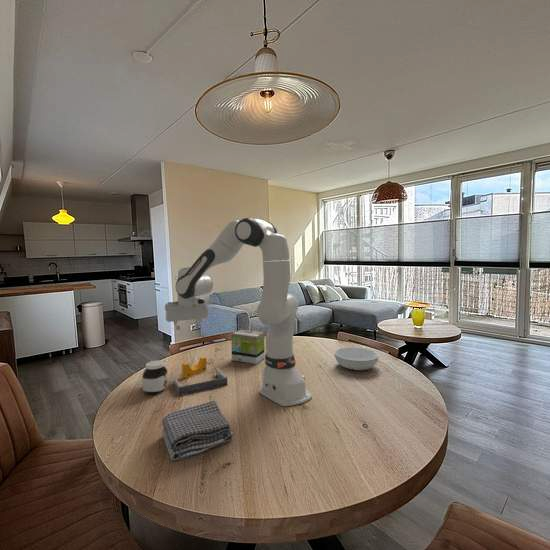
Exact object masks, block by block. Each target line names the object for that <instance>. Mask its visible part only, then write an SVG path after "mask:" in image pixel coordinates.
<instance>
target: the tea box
mask: <svg viewBox="0 0 550 550" xmlns="http://www.w3.org/2000/svg"><path fill="white" fill-rule="evenodd" d="M230 339H231V342H230V343H231V361H235V362H240V363H241V362H242V363H247V364H252V365H258V364H259V363H260V362H262V361H263V360H265V332H264V331H255V330H247V329H239V330H237V331H235V332H233V333H231V338H230ZM262 359H263V360H262ZM257 363H258V364H257Z"/></svg>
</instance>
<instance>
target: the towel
mask: <svg viewBox="0 0 550 550" xmlns="http://www.w3.org/2000/svg"><path fill="white" fill-rule="evenodd" d="M217 403H218V402H216V400H210V401H208V402H204V403H201V404H197V405H193V406H189V407H185V408H183V409H179V410H175V411H172V412H171V411H170V412H169V413H167V414H166V415H165V416H164V417H163V418H162V436H163V440H164V443H165V446H166V449H167V452H168V454H169V457H170V460H171V462H175V461H176V462H177V461H181V460H184V459H186V458H190V457H192V456H194V455H198V454H201V453H203V452H205V451H207V450H209V449H212V448H214V447H216V446H219V445H222V444H225V443H229V442H231V441H232V440H233V436H234V433H233V432H232V430H231V425H230V423H229V422H228V420H227V419H226V417H225V416H224V414H223V412H222V411H221V409H220V407H219V405H218V404H217Z"/></svg>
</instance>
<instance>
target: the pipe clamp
mask: <svg viewBox="0 0 550 550" xmlns="http://www.w3.org/2000/svg"><path fill="white" fill-rule="evenodd" d="M198 359H199V360H198V363H195V364H193V366H190V363H188V362H184V363H182V364H181V365H182V366H181V367H182V369H181V371H182V373H181V374H182V378H183V377H184V378H183V379H186V378H187V379H188V377H189V378H191V377H193V375H194V376H196V375H199V374H202V373H203V371H204V372H206V371H207V370H208V369H207V357H206V356H200V357H199V358H198ZM205 370H206V371H205ZM198 373H199V374H198ZM195 374H196V375H195ZM190 376H191V377H190Z"/></svg>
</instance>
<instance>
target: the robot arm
mask: <svg viewBox="0 0 550 550" xmlns="http://www.w3.org/2000/svg"><path fill="white" fill-rule="evenodd" d="M244 245H247V246H252V247H254V248H257V247H259V249H260V250H261V253H262V271H263V272H262V273H263V274H262V275H263V286H262V291H261V297H260V300H259V304H258V306H257V308H256V315H257V318H258V320H259V322H260V323H262V324H264V325H266V326H268V330H267V332H266V335H265V354H264V361H265V362H264V364H265V367H264V369H263V371H262V376H261V387H260V388H259V389H258V393H259V394H261V395H262V396H263V397H265V398H267V399H269V400H271V401H273V402H274V403H276V404H277V405H279V406H281V407H289V406H296V405H300V404H303V403H306V402H308V401H310V400H311V399H313V395H312V393H311V392H310V391H309V390H308V389H307V387H306V382H305V380H306V377H305V375H303V374H301V373H300V370H299V369H298V367H297V366H296V363H297V360H296V358H295V354H294V339H293V338H294V330H295V325H296V324H295V323H296V317H297V311H298V309H299V301H298V299H297V297H296V296H294V295H293V294H291V293H288V292H289V286H290V283H291V280H292V278H291V275H292V274H291V273H292V272H291V259H290V257H291V256H290V250H289V245H288V241H287V238H286V236H285V235H283V234H281V233H278V229H277V227H276V226H275V225H274V224H273V223H272V222H270V221H266V220H263V219H261V218H253V217H245V218H242V219H232V220H230V221H229V223H227V225H226V226H225V227H224V228H223V229H222V230H221V232H220V233H219V234H218V235H217V237H216V238H215V240H214V241H213V242H212V244H210V246H209V247H208V248H206V249H205V250H204V252H203V253H201V255H199V257H198V258H197V259H196V260H195V262H194V263H192V265H191V267H183V268H180V269H179V270H178V271H177V278H176V282H175V291H176V293H177V301H168V302H167V303H165V305H164V310H165V321H166V322H168V323H171V322H173V324H174V325H175V330H176V331H180V330H181V329H180V328H181V327H180V325H177V324H178V321H180V322H183V321H189V320H190V321H191V320H197V323H195V328H196V329H197V328H198V329H199V328H200V324H201V322H202V319H207V318H208V317H209V306H208V305H207V299H206V298H203V297H200V296H203V295H207V294H210V293H211V291H212V290H213V284H214V283H213V280H212V278H211V277H210V276H209V275H207V274H205V273H206V272H207V271H208V270H209V269H211V268H213V267H215V266H217V265H221V264H223V263H227V262H228V263H229V262H230V261H231V260H232V259H234V258H235V257H236V256H237V254H238V253H239V252H240V250H241V249H242V247H243V246H244Z"/></svg>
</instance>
